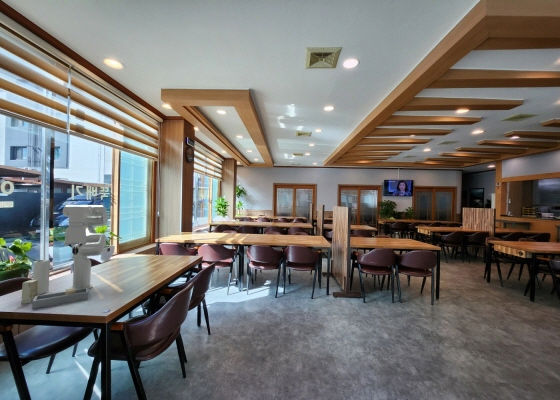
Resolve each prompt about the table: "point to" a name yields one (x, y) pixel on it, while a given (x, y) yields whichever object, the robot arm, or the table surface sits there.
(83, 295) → the grey shallow box
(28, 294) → the skincare box
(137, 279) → the table surface
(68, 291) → the maple block
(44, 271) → the paper towel roll
